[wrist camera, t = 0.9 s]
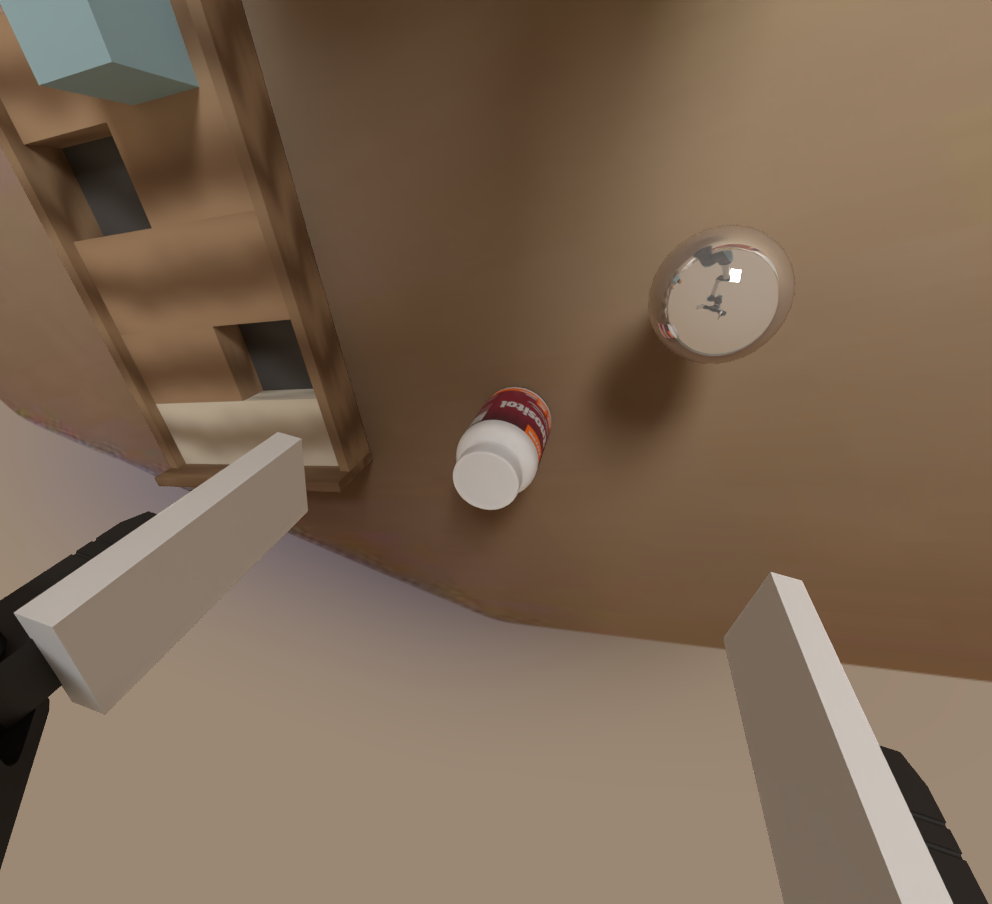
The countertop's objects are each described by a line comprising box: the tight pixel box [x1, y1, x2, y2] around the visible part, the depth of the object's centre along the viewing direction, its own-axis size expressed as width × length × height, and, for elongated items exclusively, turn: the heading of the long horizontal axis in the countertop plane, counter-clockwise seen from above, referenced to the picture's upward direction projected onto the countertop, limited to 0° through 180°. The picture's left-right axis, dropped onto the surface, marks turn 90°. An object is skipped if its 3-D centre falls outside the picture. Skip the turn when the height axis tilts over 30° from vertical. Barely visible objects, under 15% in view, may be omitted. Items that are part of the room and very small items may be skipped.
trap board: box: [0, 0, 372, 492], centre depth 37 cm, size 37×22×6 cm, turn 7°
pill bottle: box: [453, 387, 551, 510], centre depth 34 cm, size 6×6×11 cm
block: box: [0, 0, 199, 105], centre depth 27 cm, size 6×6×6 cm
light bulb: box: [648, 225, 795, 364], centre depth 26 cm, size 7×7×12 cm
